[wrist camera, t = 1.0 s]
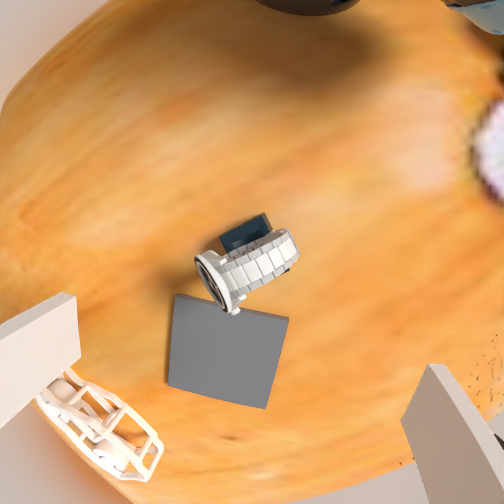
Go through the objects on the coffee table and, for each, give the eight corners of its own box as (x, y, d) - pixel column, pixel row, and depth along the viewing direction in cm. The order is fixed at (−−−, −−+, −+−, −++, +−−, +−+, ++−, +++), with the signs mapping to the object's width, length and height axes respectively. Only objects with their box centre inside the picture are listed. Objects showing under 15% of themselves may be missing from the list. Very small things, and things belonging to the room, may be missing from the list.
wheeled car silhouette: (48, 374, 39) (21, 396, 32) (76, 345, 36) (45, 369, 29) (133, 461, 40) (116, 489, 33) (173, 445, 38) (157, 479, 31)
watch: (208, 240, 31) (168, 266, 21) (280, 204, 30) (276, 211, 19) (234, 289, 32) (208, 336, 21) (306, 255, 30) (314, 290, 20)
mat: (178, 293, 33) (175, 296, 32) (288, 317, 32) (288, 321, 31) (170, 381, 35) (168, 385, 34) (266, 404, 34) (265, 409, 33)
